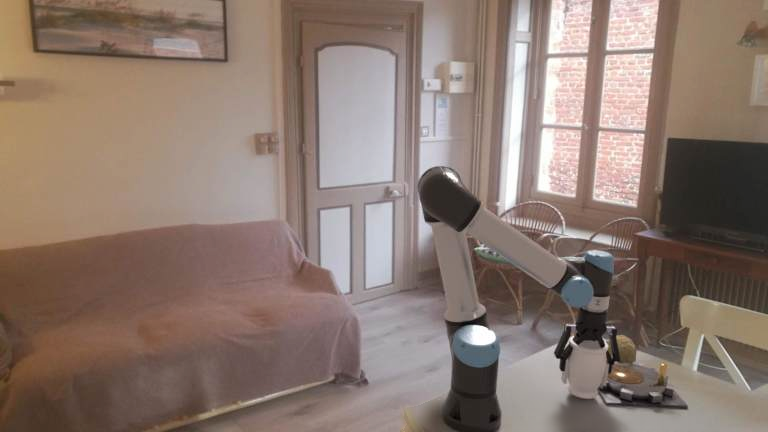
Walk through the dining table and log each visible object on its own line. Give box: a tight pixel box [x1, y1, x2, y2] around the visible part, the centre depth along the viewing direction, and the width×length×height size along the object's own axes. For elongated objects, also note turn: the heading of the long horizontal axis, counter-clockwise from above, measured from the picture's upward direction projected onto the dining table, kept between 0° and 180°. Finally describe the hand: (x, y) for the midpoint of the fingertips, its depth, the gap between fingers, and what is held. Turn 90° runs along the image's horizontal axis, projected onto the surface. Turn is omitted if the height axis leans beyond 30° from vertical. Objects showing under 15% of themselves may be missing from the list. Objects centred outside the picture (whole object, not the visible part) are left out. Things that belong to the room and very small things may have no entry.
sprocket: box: [599, 361, 675, 403], centre depth 172 cm, size 22×22×8 cm
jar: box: [566, 335, 609, 400], centre depth 165 cm, size 11×10×15 cm
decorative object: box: [605, 334, 637, 364], centre depth 190 cm, size 9×10×10 cm
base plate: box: [597, 367, 689, 409], centre depth 173 cm, size 22×22×1 cm
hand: (583, 382), depth 166 cm, fingers closed on jar, 10 cm apart
